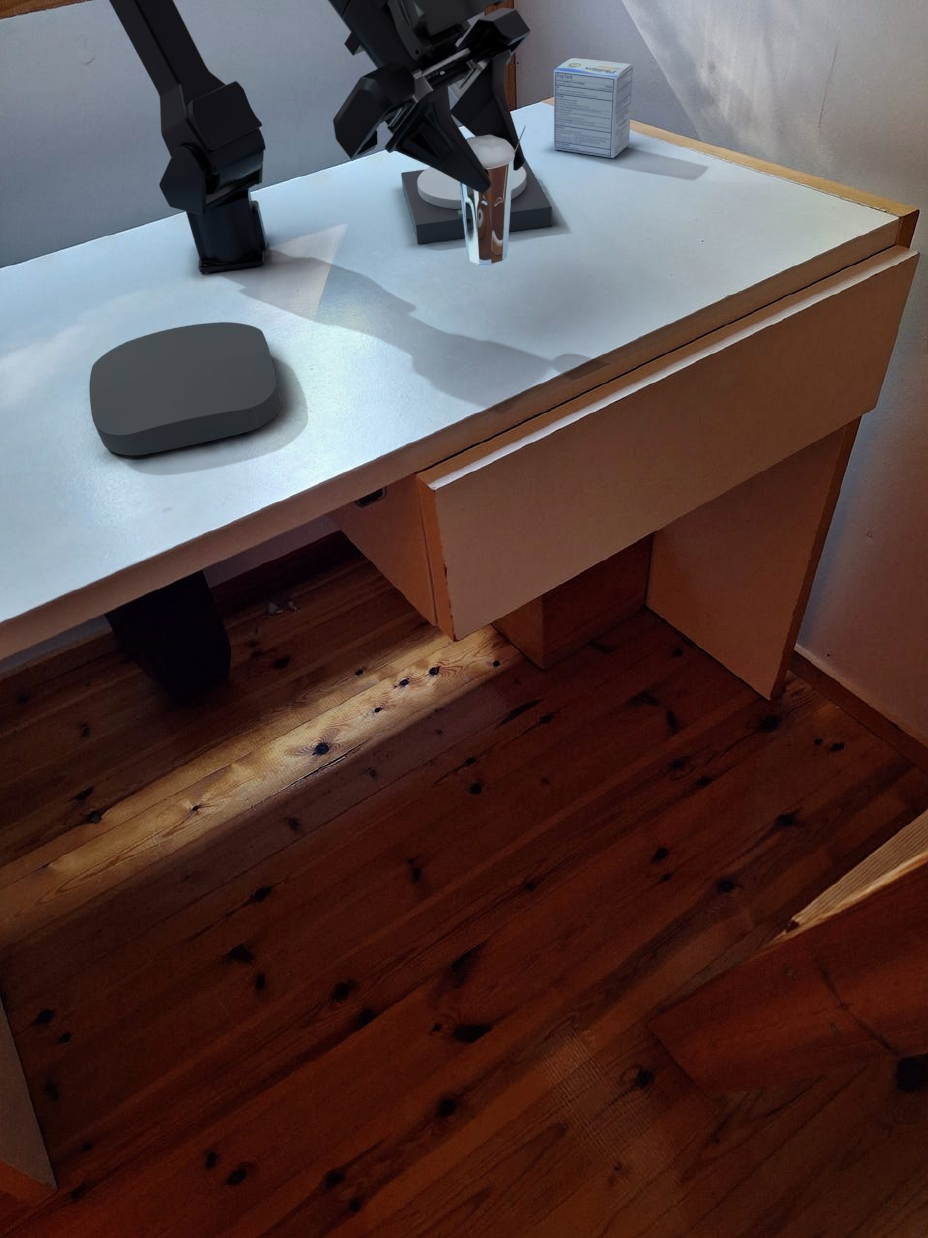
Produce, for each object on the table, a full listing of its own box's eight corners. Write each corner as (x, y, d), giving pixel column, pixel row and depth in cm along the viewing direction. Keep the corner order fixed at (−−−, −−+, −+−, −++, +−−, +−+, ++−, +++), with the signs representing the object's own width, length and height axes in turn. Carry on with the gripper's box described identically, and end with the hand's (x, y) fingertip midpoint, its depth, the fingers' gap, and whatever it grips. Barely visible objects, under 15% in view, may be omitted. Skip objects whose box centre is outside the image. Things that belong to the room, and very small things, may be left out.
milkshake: (522, 270, 73) (523, 136, 65) (456, 269, 73) (450, 136, 66) (526, 245, 76) (527, 115, 69) (462, 244, 76) (457, 115, 69)
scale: (417, 244, 92) (414, 214, 90) (402, 190, 102) (399, 162, 100) (551, 226, 93) (552, 196, 91) (524, 174, 103) (524, 146, 100)
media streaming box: (102, 469, 69) (88, 436, 67) (100, 372, 79) (87, 341, 77) (289, 427, 71) (281, 395, 69) (265, 338, 81) (257, 307, 79)
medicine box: (629, 146, 106) (635, 63, 100) (612, 160, 104) (617, 75, 97) (570, 137, 109) (571, 55, 103) (552, 150, 107) (552, 67, 101)
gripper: (339, -71, 54) (498, 155, 58) (506, -128, 64) (634, 67, 68) (270, 61, 63) (412, 249, 67) (426, -8, 73) (542, 159, 77)
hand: (504, 177), depth 69 cm, fingers closed on milkshake, 4 cm apart
